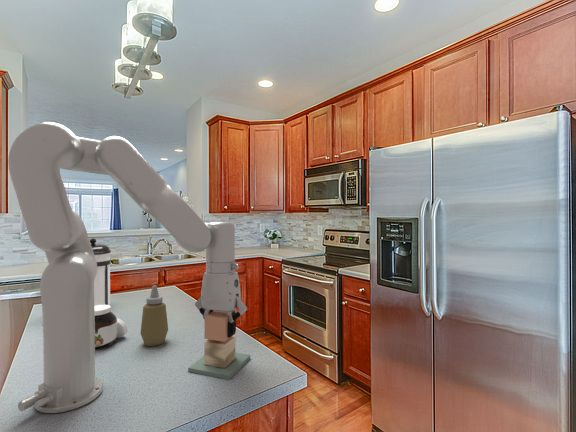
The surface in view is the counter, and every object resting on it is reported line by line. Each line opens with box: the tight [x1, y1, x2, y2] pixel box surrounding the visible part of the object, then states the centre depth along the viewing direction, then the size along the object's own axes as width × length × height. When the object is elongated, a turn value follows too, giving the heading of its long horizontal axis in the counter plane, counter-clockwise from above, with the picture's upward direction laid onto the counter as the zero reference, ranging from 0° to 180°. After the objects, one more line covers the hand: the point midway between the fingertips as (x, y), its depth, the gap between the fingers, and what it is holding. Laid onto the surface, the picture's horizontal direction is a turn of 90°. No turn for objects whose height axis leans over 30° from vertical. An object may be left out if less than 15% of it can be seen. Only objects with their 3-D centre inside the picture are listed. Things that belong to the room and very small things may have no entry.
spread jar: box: [94, 305, 128, 351], centre depth 101 cm, size 12×11×12 cm
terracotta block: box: [204, 310, 237, 342], centre depth 87 cm, size 6×6×6 cm
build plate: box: [187, 352, 251, 380], centre depth 87 cm, size 12×12×1 cm
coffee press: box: [89, 238, 116, 306], centre depth 131 cm, size 17×16×30 cm
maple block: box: [203, 335, 236, 368], centre depth 87 cm, size 6×6×6 cm
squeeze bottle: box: [140, 284, 169, 347], centre depth 101 cm, size 8×8×18 cm
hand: (220, 333), depth 87 cm, fingers closed on terracotta block, 5 cm apart
